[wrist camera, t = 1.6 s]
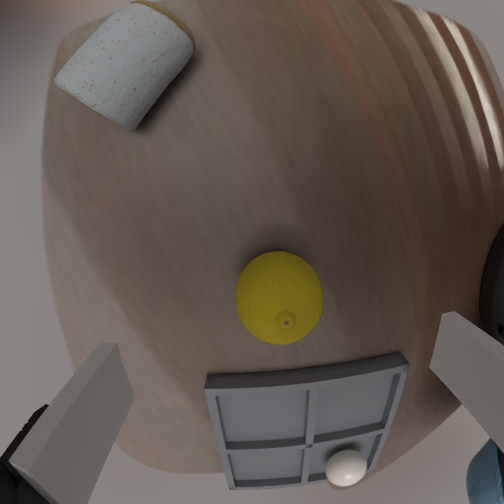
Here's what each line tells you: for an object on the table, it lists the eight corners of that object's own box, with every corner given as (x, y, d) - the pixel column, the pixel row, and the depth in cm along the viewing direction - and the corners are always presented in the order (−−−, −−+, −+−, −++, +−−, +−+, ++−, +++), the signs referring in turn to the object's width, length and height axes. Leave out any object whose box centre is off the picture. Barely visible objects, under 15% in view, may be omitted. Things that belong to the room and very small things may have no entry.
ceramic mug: (210, 60, 18) (191, 6, 11) (146, 141, 19) (97, 118, 12) (123, 22, 17) (87, -20, 9) (68, 91, 18) (16, 67, 11)
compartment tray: (399, 352, 23) (409, 363, 21) (368, 459, 27) (373, 470, 25) (207, 374, 23) (204, 389, 21) (230, 477, 27) (229, 489, 25)
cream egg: (364, 437, 25) (376, 467, 20) (357, 459, 26) (366, 487, 21) (323, 446, 25) (332, 477, 20) (319, 467, 26) (326, 496, 21)
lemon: (321, 283, 22) (356, 329, 14) (264, 322, 22) (272, 383, 15) (282, 226, 21) (301, 247, 13) (222, 270, 21) (208, 313, 14)
